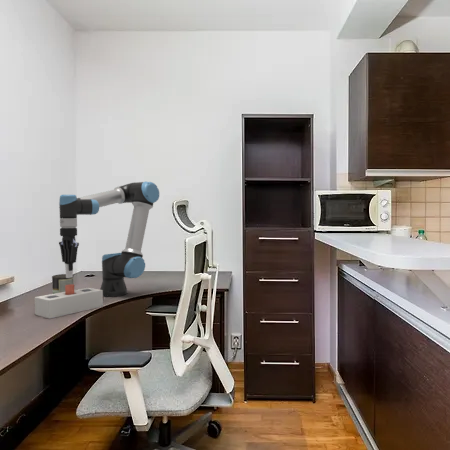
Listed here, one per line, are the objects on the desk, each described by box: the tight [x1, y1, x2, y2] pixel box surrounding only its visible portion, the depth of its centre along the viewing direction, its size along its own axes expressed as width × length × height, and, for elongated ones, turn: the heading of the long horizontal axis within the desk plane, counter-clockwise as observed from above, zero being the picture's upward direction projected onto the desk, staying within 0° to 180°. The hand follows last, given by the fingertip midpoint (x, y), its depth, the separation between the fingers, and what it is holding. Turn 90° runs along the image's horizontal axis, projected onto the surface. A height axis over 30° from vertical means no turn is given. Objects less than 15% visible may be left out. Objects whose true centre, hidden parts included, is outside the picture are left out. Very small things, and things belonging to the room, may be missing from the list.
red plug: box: [65, 284, 75, 295], centre depth 194 cm, size 4×4×7 cm
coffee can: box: [51, 273, 75, 294], centre depth 210 cm, size 10×10×14 cm
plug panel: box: [34, 287, 104, 320], centre depth 195 cm, size 28×12×8 cm, turn 143°
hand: (69, 277), depth 194 cm, fingers closed
